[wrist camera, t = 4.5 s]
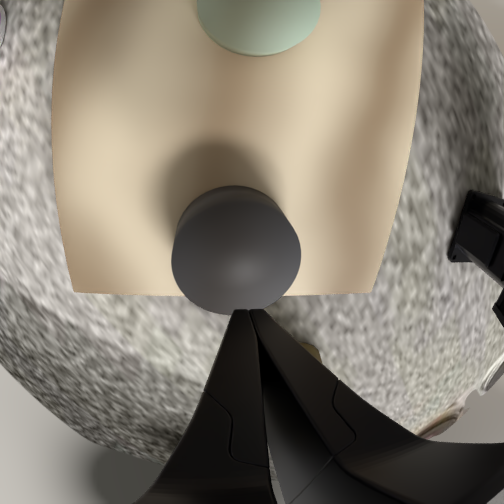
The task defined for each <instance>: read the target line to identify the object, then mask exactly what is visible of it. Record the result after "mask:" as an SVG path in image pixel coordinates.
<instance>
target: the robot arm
mask: <svg viewBox="0 0 504 504" xmlns="http://www.w3.org/2000/svg"><path fill="white" fill-rule="evenodd" d="M448 259H449V260H450V261H451V262H473V263H475V264H476V265H477V266H478V267H479V268H481V269H482V270H483V271H484V272H485V273H487V274H488V275H489V276H490V277H491V278H492V279H494V280H495V281H496V282H497V283H498V284H499V285H500V286H501V287H503V290H502V292H501V294H500V296H499V298H498V300H497V302H495V304H494V306H493V308H492V309H493V311H494V313H495V314H496V316H497V318H498V319H499V321H500V322H501V324H502V326H503V327H504V199H502V198H499V197H496V196H493V195H489V194H486V193H482V192H479V191H475V190H470V191H469V192H468V194H467V198H466V202H465V205H464V209H463V212H462V216H461V219H460V222H459V225H458V228H457V231H456V234H455V237H454V240H453V243H452V246H451V249H450V252H449V254H448ZM267 443H268V445H267ZM268 446H269V450H270V453H271V457H272V460H273V464H274V467H275V471H276V474H277V477H278V481H279V483H280V487H281V491H282V494H283V497H284V501H285V504H504V443H450V442H437V441H430V440H427V439H424V438H421V437H419V436H417V435H415V434H413V433H412V432H410V431H408V430H407V429H405V428H404V427H402V426H401V425H399V424H398V423H396V422H395V421H393V420H392V419H390V418H389V417H387V416H386V415H384V414H383V413H381V412H380V411H379V410H377V409H376V408H374V407H373V406H372V405H370V404H369V403H368V402H366V401H365V400H363V399H362V398H361V397H360V396H359V395H357V394H356V393H355V392H354V391H352V390H351V389H350V388H349V387H348V386H347V385H346V384H344V383H343V382H342V381H341V380H338V378H337V377H336V376H335V375H334V374H333V373H332V372H331V371H330V370H329V369H327V368H326V367H325V366H324V365H323V364H322V363H321V362H320V361H319V360H318V359H316V358H315V357H314V356H313V355H312V354H311V353H310V352H309V351H308V350H307V349H305V348H304V347H303V346H302V345H301V344H300V343H299V342H298V341H297V340H296V339H295V338H294V337H292V336H291V335H290V334H289V333H288V332H287V331H286V330H285V329H284V328H283V327H282V326H281V325H280V324H279V323H277V322H276V321H275V320H274V319H273V318H272V317H271V316H270V315H269V314H268V313H267V312H266V311H265V310H263V309H250V310H249V311H248V310H247V309H235V310H234V311H233V313H232V315H231V318H230V321H229V324H228V326H227V329H226V332H225V334H224V337H223V340H222V342H221V345H220V348H219V350H218V353H217V356H216V358H215V361H214V364H213V366H212V369H211V372H210V374H209V377H208V380H207V382H206V385H205V388H204V392H203V393H202V395H201V398H200V400H199V403H198V405H197V408H196V410H195V412H194V415H193V417H192V419H191V421H190V423H189V425H188V427H187V429H186V431H185V432H184V434H183V436H182V438H181V439H180V441H179V443H178V444H177V446H176V448H175V450H174V451H173V453H172V455H171V456H170V458H169V459H168V461H167V463H166V464H165V466H164V468H163V469H162V471H161V473H160V474H159V476H158V477H157V479H156V480H155V481H154V483H153V484H152V485H151V486H150V488H149V489H148V490H147V491H146V492H145V493H144V494H143V495H142V496H141V497H140V498H139V499H137V500H136V501H135V502H134V503H133V504H277V501H276V498H275V495H274V492H273V488H272V483H271V476H270V469H269V467H270V466H269V455H268Z"/></svg>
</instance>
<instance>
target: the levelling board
mask: <svg viewBox="0 0 504 504" xmlns="http://www.w3.org/2000/svg"><path fill="white" fill-rule="evenodd" d="M423 34H424V0H65V1H64V5H63V10H62V15H61V20H60V26H59V32H58V38H57V45H56V53H55V62H54V73H53V87H52V115H51V129H52V158H53V172H54V184H55V193H56V202H57V209H58V216H59V223H60V229H61V235H62V241H63V246H64V251H65V256H66V261H67V265H68V270H69V274H70V278H71V282H72V286H73V290H74V292H80V293H99V294H122V295H152V296H186V297H187V298H188V299H189V300H190V301H191V302H193V303H194V304H196V305H197V306H199V307H201V308H203V309H205V310H208V311H210V312H214V313H218V314H224V315H232V313H233V311H234V310H235V309H247V310H248V311H249V310H250V309H263V308H265V307H267V306H269V305H271V304H272V303H274V302H275V301H277V300H278V299H279V298H280V297H282V296H295V295H326V294H349V293H369V292H371V291H372V289H373V286H374V283H375V280H376V277H377V274H378V271H379V268H380V265H381V262H382V259H383V256H384V252H385V249H386V246H387V243H388V239H389V236H390V232H391V229H392V225H393V222H394V218H395V214H396V211H397V207H398V203H399V199H400V195H401V191H402V186H403V182H404V177H405V173H406V168H407V164H408V159H409V154H410V148H411V143H412V137H413V131H414V125H415V119H416V112H417V105H418V97H419V88H420V79H421V68H422V54H423Z"/></svg>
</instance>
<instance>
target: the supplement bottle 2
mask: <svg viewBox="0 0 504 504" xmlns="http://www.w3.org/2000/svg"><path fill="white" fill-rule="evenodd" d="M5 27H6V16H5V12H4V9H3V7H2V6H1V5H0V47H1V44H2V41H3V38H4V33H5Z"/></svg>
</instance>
